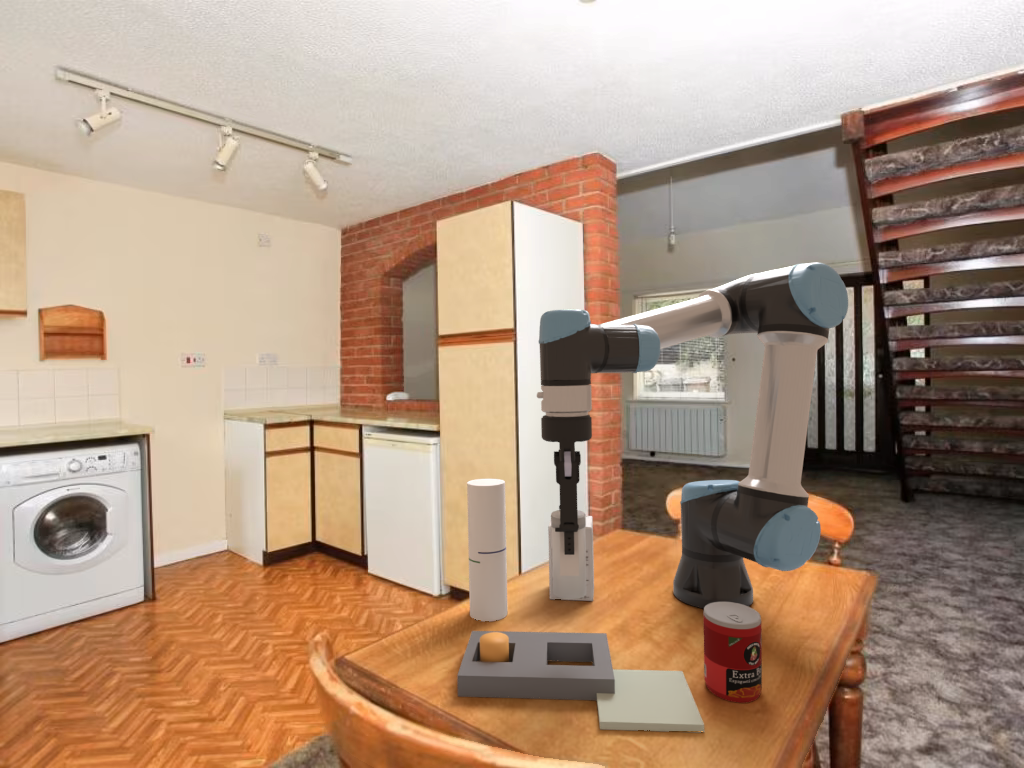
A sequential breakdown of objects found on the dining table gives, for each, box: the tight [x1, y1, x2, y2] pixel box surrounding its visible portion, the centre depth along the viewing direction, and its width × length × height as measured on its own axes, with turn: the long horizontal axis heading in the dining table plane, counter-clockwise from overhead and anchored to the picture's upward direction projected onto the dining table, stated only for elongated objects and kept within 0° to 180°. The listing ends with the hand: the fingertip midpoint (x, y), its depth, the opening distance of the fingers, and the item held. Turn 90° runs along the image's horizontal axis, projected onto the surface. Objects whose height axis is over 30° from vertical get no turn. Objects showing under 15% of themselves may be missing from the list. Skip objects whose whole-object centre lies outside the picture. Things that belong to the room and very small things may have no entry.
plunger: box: [479, 632, 509, 662], centre depth 88 cm, size 4×4×4 cm
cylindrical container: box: [466, 478, 508, 622], centre depth 109 cm, size 7×7×25 cm
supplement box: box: [547, 515, 595, 602], centre depth 119 cm, size 9×9×15 cm
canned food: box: [702, 602, 763, 704], centre depth 82 cm, size 8×8×11 cm
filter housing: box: [456, 630, 615, 701], centre depth 88 cm, size 22×14×3 cm, turn 85°
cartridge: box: [550, 509, 587, 599], centre depth 87 cm, size 5×5×12 cm
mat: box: [596, 668, 705, 733], centre depth 80 cm, size 13×13×1 cm
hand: (569, 567), depth 87 cm, fingers closed on cartridge, 5 cm apart
